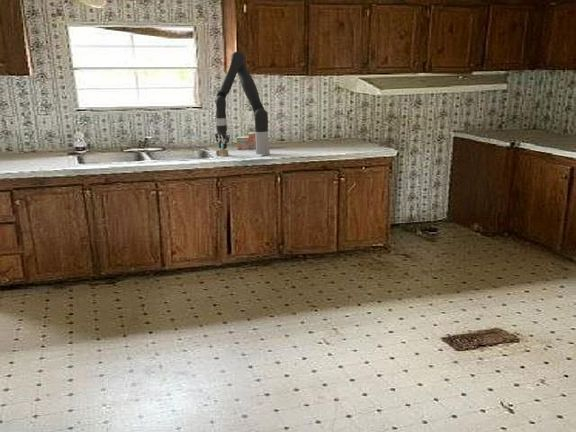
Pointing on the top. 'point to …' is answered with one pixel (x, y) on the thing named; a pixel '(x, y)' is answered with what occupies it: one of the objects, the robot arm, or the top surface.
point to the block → (223, 153)
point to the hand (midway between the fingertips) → (222, 148)
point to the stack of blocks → (247, 141)
